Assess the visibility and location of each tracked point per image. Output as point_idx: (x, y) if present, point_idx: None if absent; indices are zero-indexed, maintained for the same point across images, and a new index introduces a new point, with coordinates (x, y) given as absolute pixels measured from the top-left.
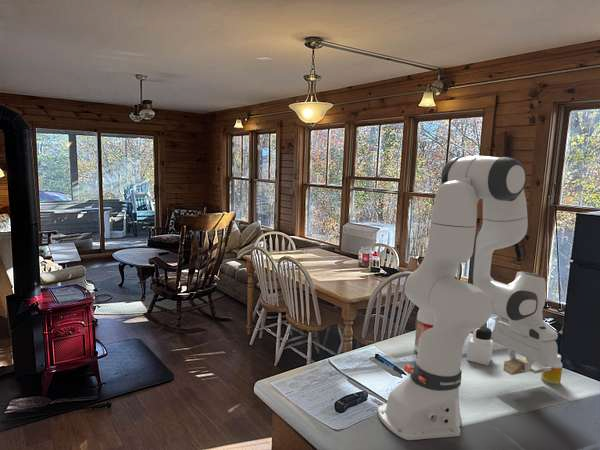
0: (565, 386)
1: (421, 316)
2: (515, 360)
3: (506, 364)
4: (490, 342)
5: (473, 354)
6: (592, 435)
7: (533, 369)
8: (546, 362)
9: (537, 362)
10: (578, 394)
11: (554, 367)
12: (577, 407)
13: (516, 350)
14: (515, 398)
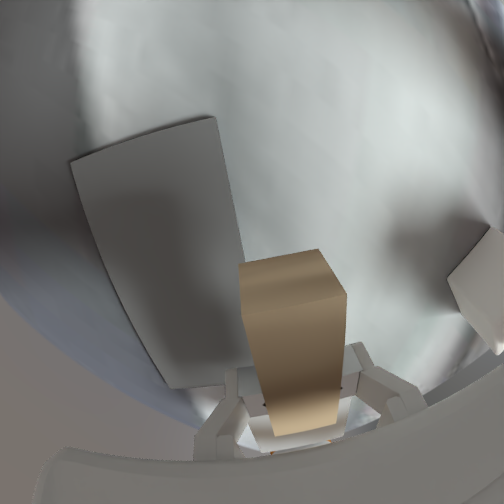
0: None
1: None
2: (325, 380)
3: (312, 288)
4: (500, 341)
5: (499, 252)
6: (24, 316)
7: None
8: (40, 472)
9: (107, 460)
10: None
11: (277, 451)
12: (149, 383)
13: (335, 462)
14: (183, 212)
